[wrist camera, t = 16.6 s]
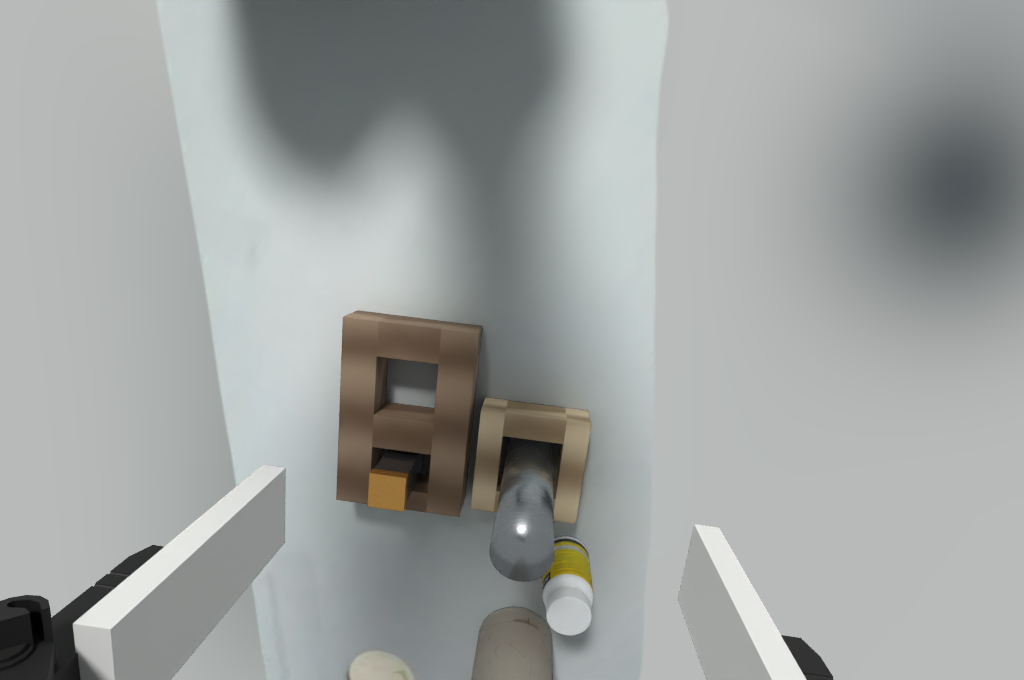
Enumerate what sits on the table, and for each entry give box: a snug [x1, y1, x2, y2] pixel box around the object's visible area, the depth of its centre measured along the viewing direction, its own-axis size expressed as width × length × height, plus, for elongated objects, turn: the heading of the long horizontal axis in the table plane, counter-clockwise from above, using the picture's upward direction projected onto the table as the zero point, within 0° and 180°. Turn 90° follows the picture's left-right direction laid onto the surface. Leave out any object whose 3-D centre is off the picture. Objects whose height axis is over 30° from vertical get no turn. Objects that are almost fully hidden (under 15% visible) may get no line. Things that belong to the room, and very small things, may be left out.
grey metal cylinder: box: [490, 437, 555, 581], centre depth 41 cm, size 4×4×16 cm
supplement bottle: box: [542, 536, 594, 635], centre depth 47 cm, size 5×5×8 cm
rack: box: [471, 398, 591, 524], centre depth 48 cm, size 10×10×4 cm
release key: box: [368, 449, 423, 511], centre depth 46 cm, size 3×3×7 cm
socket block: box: [336, 311, 482, 517], centre depth 47 cm, size 18×12×4 cm, turn 174°
